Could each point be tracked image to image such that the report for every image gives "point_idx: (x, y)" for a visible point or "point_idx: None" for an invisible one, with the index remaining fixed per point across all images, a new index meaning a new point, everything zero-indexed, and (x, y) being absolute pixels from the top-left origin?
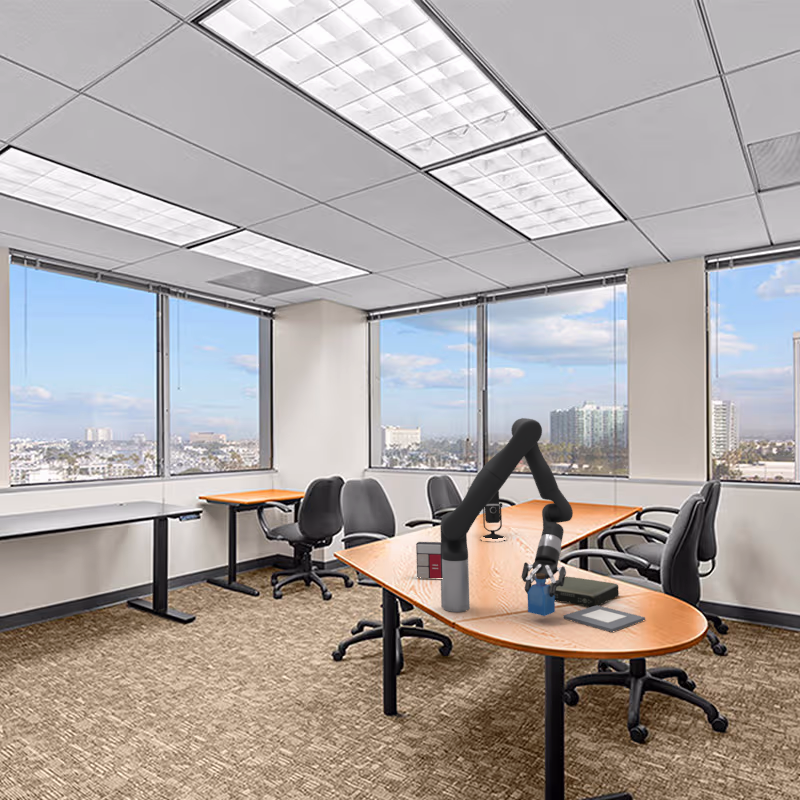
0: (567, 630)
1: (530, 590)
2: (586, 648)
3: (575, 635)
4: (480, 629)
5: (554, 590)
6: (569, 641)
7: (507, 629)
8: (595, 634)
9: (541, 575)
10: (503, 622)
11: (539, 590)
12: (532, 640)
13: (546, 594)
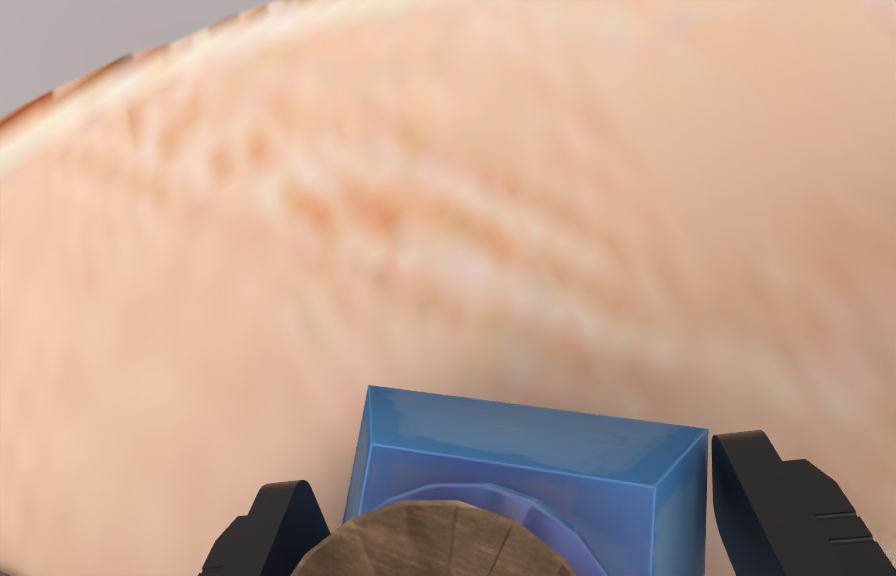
0: (242, 390)
1: (657, 440)
2: (69, 131)
3: (165, 312)
4: (857, 6)
5: (203, 567)
6: (179, 177)
7: (669, 132)
8: (40, 419)
9: (338, 556)
10: (823, 270)
11: (453, 422)
12: (394, 52)
13: (355, 469)
